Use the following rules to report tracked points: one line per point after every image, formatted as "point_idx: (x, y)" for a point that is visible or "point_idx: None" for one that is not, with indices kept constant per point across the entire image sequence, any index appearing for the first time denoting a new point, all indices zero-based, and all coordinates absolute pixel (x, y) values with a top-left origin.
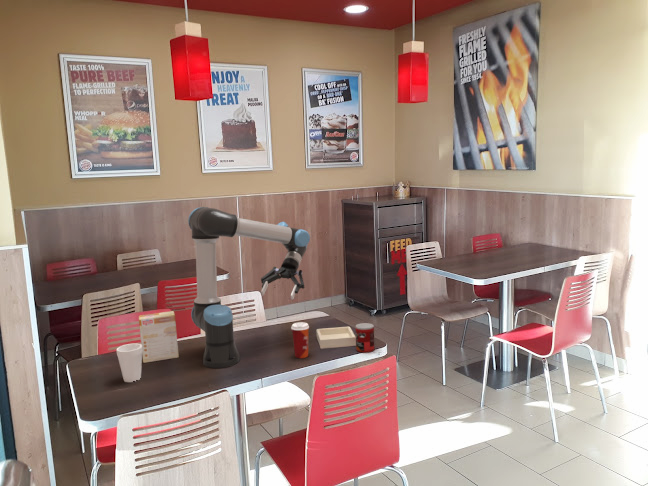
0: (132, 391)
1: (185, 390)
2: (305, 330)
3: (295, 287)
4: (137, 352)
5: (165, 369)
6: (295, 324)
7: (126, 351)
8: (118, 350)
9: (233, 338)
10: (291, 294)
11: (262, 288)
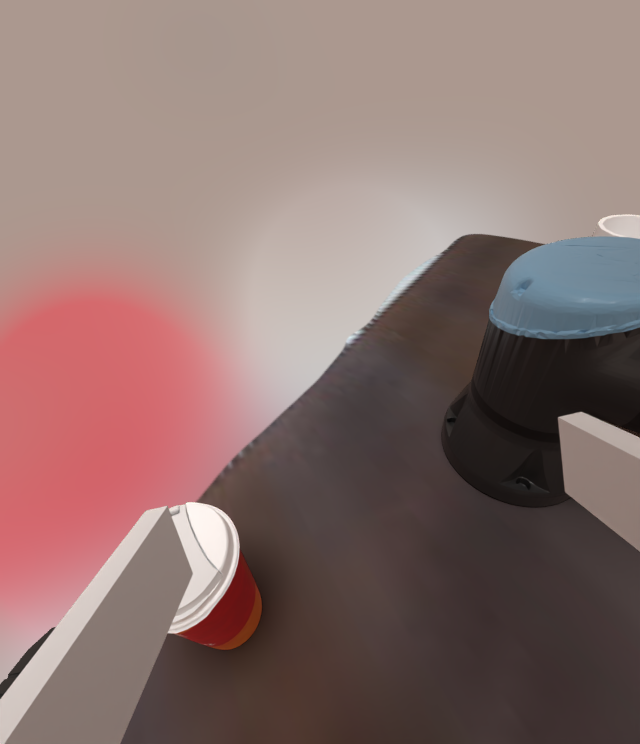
0: None
1: (426, 309)
2: None
3: (29, 661)
4: (596, 236)
5: None
6: (205, 544)
7: (604, 218)
8: (632, 215)
9: (488, 404)
10: (153, 516)
11: (628, 434)
